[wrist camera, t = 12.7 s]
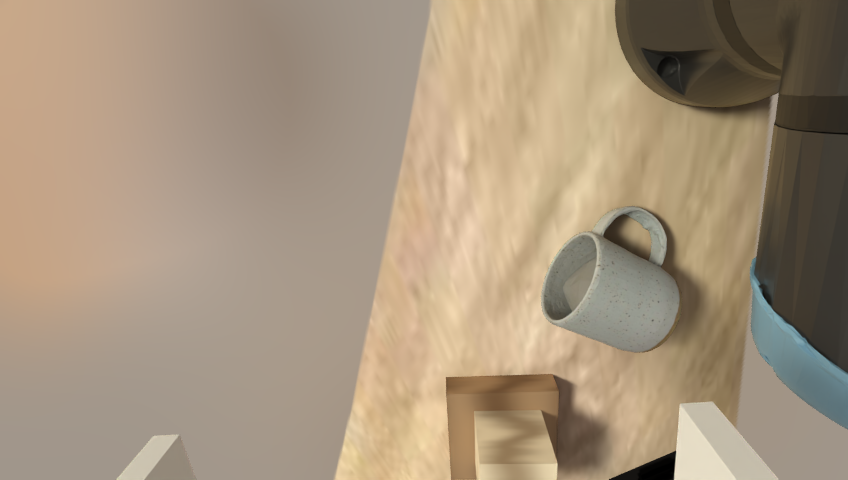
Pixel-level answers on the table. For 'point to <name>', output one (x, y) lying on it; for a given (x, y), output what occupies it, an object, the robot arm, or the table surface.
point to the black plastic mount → (652, 470)
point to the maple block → (513, 446)
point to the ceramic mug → (613, 288)
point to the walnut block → (494, 397)
